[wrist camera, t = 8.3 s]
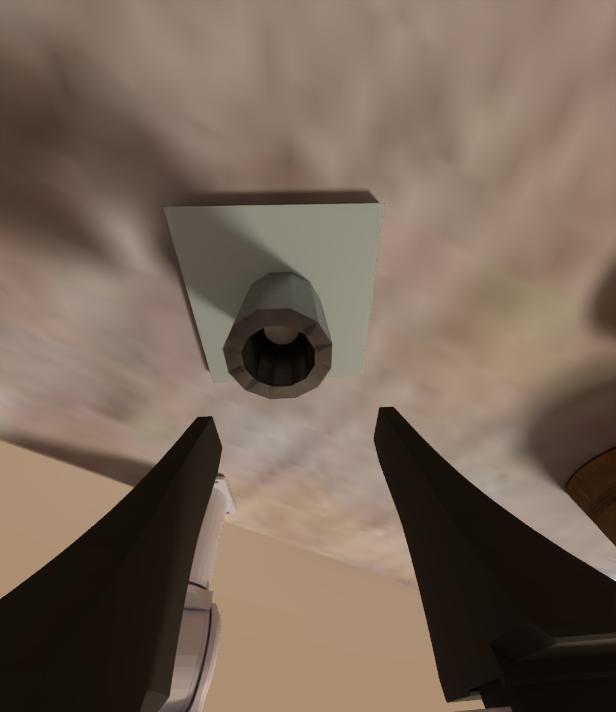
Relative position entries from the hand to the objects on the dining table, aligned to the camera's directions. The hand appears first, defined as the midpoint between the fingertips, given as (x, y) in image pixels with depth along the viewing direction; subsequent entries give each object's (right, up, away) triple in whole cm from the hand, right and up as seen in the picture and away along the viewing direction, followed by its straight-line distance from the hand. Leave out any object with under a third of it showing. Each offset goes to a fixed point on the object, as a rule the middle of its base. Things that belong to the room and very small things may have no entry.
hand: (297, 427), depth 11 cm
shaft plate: (-1, +7, +7) cm, 10 cm away
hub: (-1, +6, +6) cm, 9 cm away
